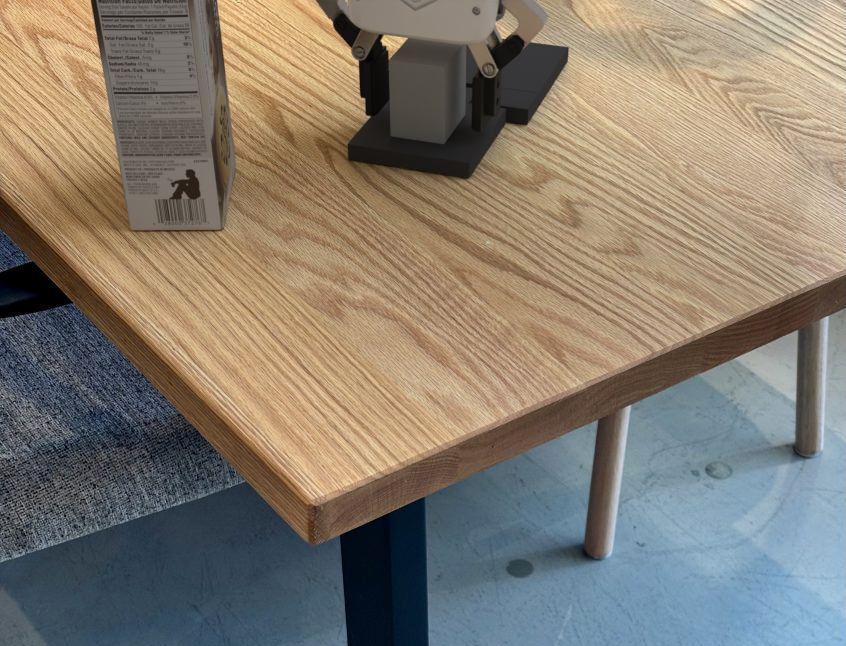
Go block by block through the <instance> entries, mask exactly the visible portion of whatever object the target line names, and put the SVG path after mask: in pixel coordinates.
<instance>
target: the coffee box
mask: <svg viewBox="0 0 846 646" xmlns="http://www.w3.org/2000/svg"><path fill="white" fill-rule="evenodd" d="M90 4H91V10H92V15H93V21H94V28H95V33H96V39H97V45H98V50H99V55H100V61H101V68H102V72H103V73H102V74H103V78H104V85H105V90H106V91H105V92H106V97H107V101H108V102H107V103H108V108H109V113H110V119H111V126H112V132H113V136H114V142H115V148H116V154H117V160H118V166H119V173H120V177H121V183H122V190H123V195H124V201H125V206H126V211H127V217H128V223H129V228H130V230H131V231H220V230H223V229H224V228H225V225H226V224H225V223H226V219H227V213H228V210H229V204H230V199H231V193H232V188H233V183H234V179H235V172H236V167H237V157H236V151H235V141H234V134H233V126H232V117H231V108H230V97H229V91H228V89H229V88H228V82H227V73H226V65H225V64H226V63H225V56H224V47H223V37H222V30H221V22H220V13H219V5H218V0H90Z"/></svg>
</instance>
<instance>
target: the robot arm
mask: <svg viewBox="0 0 846 646" xmlns="http://www.w3.org/2000/svg"><path fill="white" fill-rule="evenodd" d="M315 2H316V4H318V6H319V7H320V9H321V10H322V12H323V13H324V14H325V16H326V17H327V18H328V20H330V21H331V22H332V26H333V29H334V31H335V32H336V33H337V34H338V35H339V37H341V39H342V40H343V41H344V42H345V43H346V44H347V45H348V47H349V48H350V53H351V55H352V57H353V58H354V60H356V61H358V81H359V96H360V98H361V99H364V102H365V103H364V107H365V108H364V110H365V116H366V117H367V116H368V117H371V116H375V115H377V114H378V113H379V112H380V110H381V109H382V108H383V107H384V106H385V104H386V103H387V102H388V101H389V98H390V89H389V59H390V55H389V50H388V49H387V45H383V42H382V40H383V38H384V36H389V37H398V38H405V39H408V38H412V39H420V40H427V41H435V42H443V43H452V44H462V45H468V47H469V49H470V51H471V53H472V55H473V57H474V59H475V61H476V63H477V65H478V72H477V73H476V74H475V76H474V77H473V81H472V129H474V131H476V132H482V131H483V130H484V128H485V127H486V126H487V124H488V123H489V121H490V120H491V118H492V117H496V116H497V114H498V113H499V110H500V103H501V74H502V68H504V67H505V66H506V65H507V64H508V63H509V62H511V61H512V60H513V59H514V58H515V57H517V56H518V55H519V54H520V53H521V51H522V50H523V49H524V48H525V47H526V46H527V45H528V44H529V43H530V42H533V40H534V39H535V37H536V36H538V34H539V33H540V32H541V31H542V30H543V28H545V26H546V24H547V23H548V21H549V14H548V13H547V12H546V10H544V8H542V7H541V5H540V4H538V3H537V2H536V1H535V0H315ZM506 11H508V13H510V14H511V15H512V16H513V17H514V18H515V19H516V21H517V23H518V26H517V27H516V28H515V29H514V30H513V31H512V32H511V33H510V34H509V35H508V36H507V37H505V38H504V39H505V40H502V39H503V38H502V36H501V34H500V32H499V29H498V27H497V26H496V22H498V21H500V20H502V19H503V18H504V16H505V15H506Z"/></svg>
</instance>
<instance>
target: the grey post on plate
mask: <svg viewBox="0 0 846 646" xmlns="http://www.w3.org/2000/svg"><path fill="white" fill-rule="evenodd" d="M389 88H390V98H389V101H388V102H387V103H386V104H385V106H384V107H383V108H382V109H381V110H380V112H379V113H378V114H377V115H375V116H369V118H368V119H367V120H366V121H365V122H364V124H363V125H362V126H361V128H359V130H358V131H357V132H356V133H355V135H354V136H353V137H352V138H351V139H350V140H349V141H348V143H347V144H346V145H347V146H346V147H347V160H348V161H355V162H361V163H366V164H367V163H368V164H373V165H381V166H385V167H386V166H387V167H388V166H389V167H393V168H399V169H406V170H412V171H419V172H424V173H432V174H438V175H444V176H451V177H458V178H463V179H470V178H471V177H472V175H473V173H474V172H475V171H476V169H477V168H478V166H479V164H480V163H481V162H482V160H483V158H484V157H485V155H486V154H487V152H488V151H489V150H490V148H491V146H492V145H493V143H494V142H495V140H496V139H497V137H498V136H499V134H500V133H501V132H502V130H503V128H504V127H505V126H506V124H507V122H506V109H505V108H500V110H499V113H498V114H497V116H496V117H492V118H491V120H490V121H489V123H488V124H487V126H486V127H485V128H484V130H483V131H482V132H476V131H474V129H472V88H467V87H466V45H462V44H452V43H443V42H435V41H427V40H420V39H412V38H406V40H405V41H404V42H403V43H402V44H401V46H399V48H397V50H396V51H395V52H394V54H392V56H391V57H389Z"/></svg>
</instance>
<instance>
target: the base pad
mask: <svg viewBox="0 0 846 646" xmlns="http://www.w3.org/2000/svg"><path fill="white" fill-rule="evenodd" d="M505 39H506V38H502V40H505ZM569 47H570V46H563V45H555V44H547V43H541V42H540V43H539V42H533V41H531V42H530V43H529V44H528V45H527V46H526V47H525V48H524V49H523V50H522V51H521V53H520V54H519V55H518V56H517V57H515V58H514V59H513V60H512V61H511V62H509V63H508V64H507V65H506V66H505V67H504V68H502V74H501V103H500V108H505V109H506V123H513V124H521V125H528V124H529V123H530V122H531V120H532V119H533V116H534V115H535V113H536V112H537V111H538V109H539V107H540V106H541V104H542V103H543V101H544V100H545V97H547V95H548V93H549V92H550V91H551V88H552V87H553V85H554V84H555V82H556V81H557V79H558V78H559V76H560V75H561V73H562V71H563V70H564V68H565V66H566V65H567V63H568V62H569V50H570V48H569ZM477 72H478V65H477V63H476V61H475V59H474V57H473V55H472V53H471V51H470V49H469V47H468V45H466V87H467V88H472V81H473V77H474V76H475V74H476V73H477ZM389 89H390V88H389Z"/></svg>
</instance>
